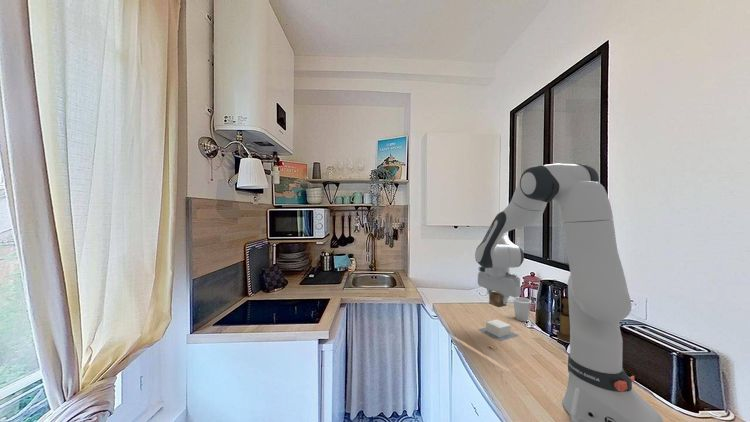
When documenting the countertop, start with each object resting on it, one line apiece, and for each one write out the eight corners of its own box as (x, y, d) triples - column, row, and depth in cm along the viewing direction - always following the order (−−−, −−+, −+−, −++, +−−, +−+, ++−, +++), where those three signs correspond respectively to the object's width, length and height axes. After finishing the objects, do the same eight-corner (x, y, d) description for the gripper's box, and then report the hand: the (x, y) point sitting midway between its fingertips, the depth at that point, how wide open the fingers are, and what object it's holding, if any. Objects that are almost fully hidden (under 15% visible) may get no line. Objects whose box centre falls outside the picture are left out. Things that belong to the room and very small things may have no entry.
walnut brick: (506, 305, 118) (506, 294, 118) (498, 307, 116) (498, 295, 116) (496, 302, 123) (497, 291, 123) (489, 303, 121) (489, 292, 121)
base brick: (510, 334, 118) (510, 325, 118) (499, 337, 115) (499, 328, 115) (496, 327, 124) (497, 319, 124) (486, 330, 121) (486, 322, 121)
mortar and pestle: (568, 345, 111) (568, 301, 111) (552, 338, 117) (553, 297, 117) (578, 342, 113) (578, 300, 113) (562, 335, 119) (563, 295, 119)
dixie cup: (515, 321, 134) (515, 301, 134) (510, 315, 142) (510, 296, 142) (533, 323, 132) (533, 303, 132) (528, 316, 140) (528, 297, 140)
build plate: (519, 337, 117) (519, 335, 117) (500, 343, 111) (500, 341, 111) (496, 327, 128) (496, 324, 128) (477, 331, 122) (477, 329, 122)
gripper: (524, 275, 112) (524, 308, 112) (485, 265, 130) (484, 293, 130) (514, 276, 109) (514, 310, 109) (475, 266, 127) (475, 295, 127)
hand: (497, 301), depth 120 cm, fingers closed on walnut brick, 5 cm apart
